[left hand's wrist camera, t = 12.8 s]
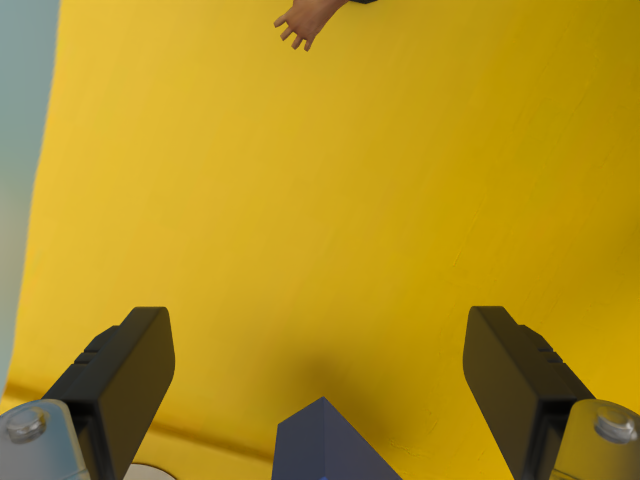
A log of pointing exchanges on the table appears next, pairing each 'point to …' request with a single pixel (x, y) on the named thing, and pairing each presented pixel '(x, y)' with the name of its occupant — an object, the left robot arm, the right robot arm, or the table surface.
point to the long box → (325, 448)
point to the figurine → (309, 18)
